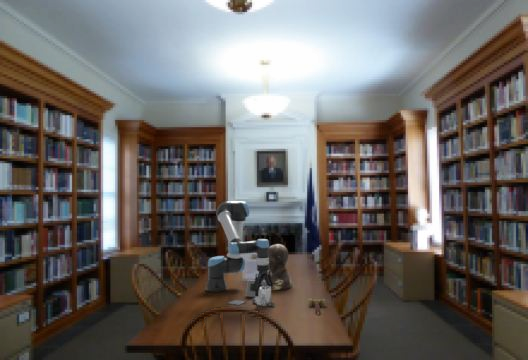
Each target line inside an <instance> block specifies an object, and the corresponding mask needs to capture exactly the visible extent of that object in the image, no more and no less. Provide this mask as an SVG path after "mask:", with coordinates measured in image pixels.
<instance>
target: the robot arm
mask: <svg viewBox="0 0 528 360" xmlns="http://www.w3.org/2000/svg"><path fill="white" fill-rule="evenodd" d="M249 215H250V208H249V204H248V203H247V201H244V200H243V201H242V200H238V201H237V200H232V201H231V200H230V201H224V202H221V203H220V204H219V205H218V207H217V208H216V217H217V220H218V221H219V223H220V225H221V226H222V229H223V231H224V233H225V236H226V238H227V240H228V245H227V250H228V253H227V254H226V257H225V256H224V255H217V256H213V257H211V258H209V259H208V263H207V266H208V267H207V271H208V272H207V273H208V278H207V281H206V286H205V290H206V291H207V292H212V293H217V292H219V293H220V292H225V291H227V290H228V286H227V283H226V279H225V275H228V274H229V275H230V274H238V273H243V271H244V269H245V267H246V259H245V257H243V256H244V254H247V255H248V254H256V264H257V265H256V270H257V271H258V273H255V277H254V278H255V279H254V280H255V282H254V286H253V290H254V291H255V297H254V298H255V301H256V302H260V291H259V289H260V286H261V283H262V281H266V283H267V285H268V286H267V287H268V288H270V298H271V297H272V290H271V286H273V281H272V278H271V274H272V273H271V271H270V270H269V247H270V241H269V240H268V239H266V238H258V239H257V240H249V241H243V229H244V223H245V222H246V219H247V218H248V217H249Z"/></svg>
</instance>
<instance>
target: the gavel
mask: <svg viewBox="0 0 528 360" xmlns="http://www.w3.org/2000/svg"><path fill="white" fill-rule="evenodd" d="M308 307H309V308H310V307H315V309H314V310H315V314H316V315H317V316H319V315H320V314H321V308H325V307H326V299H325V298H321V299H313V298H308ZM320 307H321V308H320Z"/></svg>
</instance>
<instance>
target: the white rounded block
mask: <svg viewBox="0 0 528 360" xmlns="http://www.w3.org/2000/svg"><path fill="white" fill-rule="evenodd" d="M259 291H260V302H256V301H255V303H254V304H256V305H257V306H261V307H267V306H271V303H268V302H269V301H271V297H270V288H268V287H265V286H261V287H260V289H259ZM271 307H272V306H271Z"/></svg>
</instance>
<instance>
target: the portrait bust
mask: <svg viewBox="0 0 528 360" xmlns="http://www.w3.org/2000/svg"><path fill="white" fill-rule="evenodd" d="M288 259H289V250H288V248H287V247H286V246H285V245H283V244H281V243H276V244H272V245H269V271H270V273H271V278H272V281H273V286H271V291H282V290H283V289H284V290H287V289H288V290H289V289H290V288H291V287H292V279H291V278H292V277H291V274H290V273H289V270H288V267H287V266H286V264H287V262H288Z"/></svg>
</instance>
